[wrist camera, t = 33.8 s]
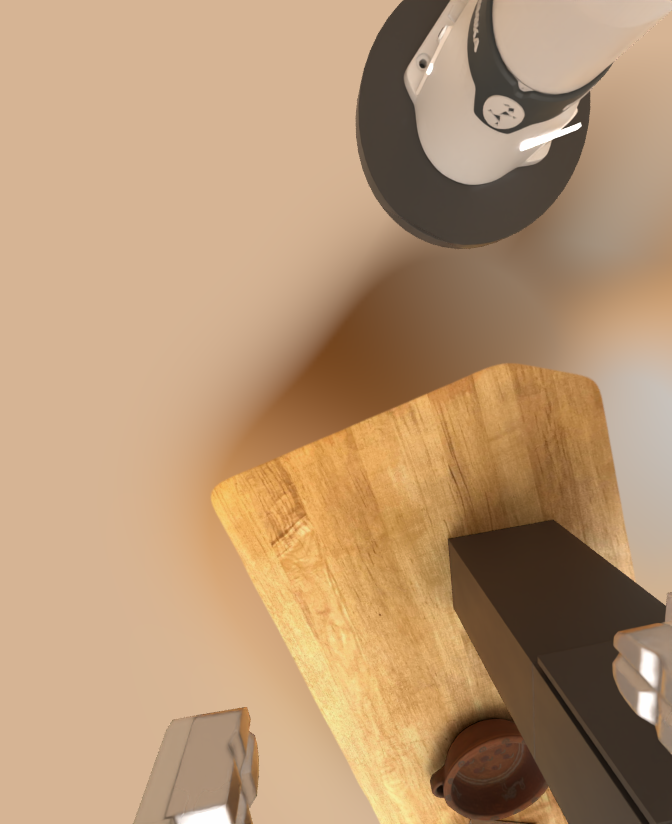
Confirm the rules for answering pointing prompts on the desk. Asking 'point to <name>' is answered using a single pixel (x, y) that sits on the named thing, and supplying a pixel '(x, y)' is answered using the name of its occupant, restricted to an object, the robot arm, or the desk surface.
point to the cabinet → (548, 646)
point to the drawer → (615, 723)
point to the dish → (489, 772)
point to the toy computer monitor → (491, 822)
